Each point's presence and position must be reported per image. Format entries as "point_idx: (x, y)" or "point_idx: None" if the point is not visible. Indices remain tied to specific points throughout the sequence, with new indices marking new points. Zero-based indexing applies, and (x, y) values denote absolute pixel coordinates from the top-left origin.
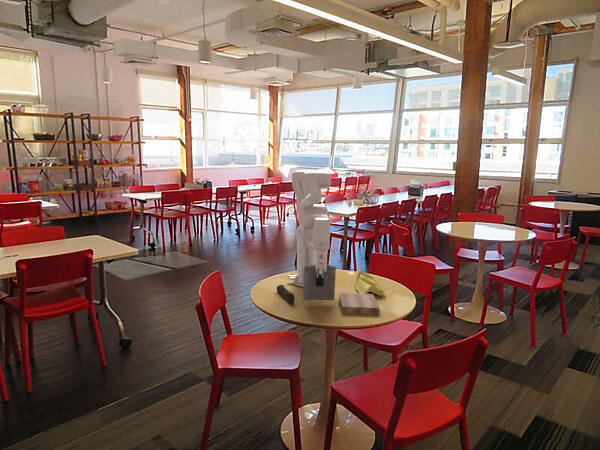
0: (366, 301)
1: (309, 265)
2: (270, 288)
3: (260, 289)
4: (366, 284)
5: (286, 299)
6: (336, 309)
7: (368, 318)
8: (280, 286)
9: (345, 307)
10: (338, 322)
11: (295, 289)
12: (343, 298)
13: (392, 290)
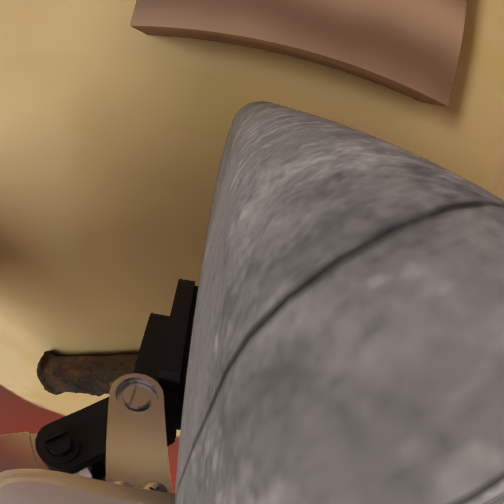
0: None
1: None
2: (34, 379)
3: (56, 406)
4: None
5: None
6: (354, 113)
7: (492, 6)
8: (57, 388)
9: (450, 88)
10: (501, 180)
11: (9, 294)
12: (276, 19)
13: None
